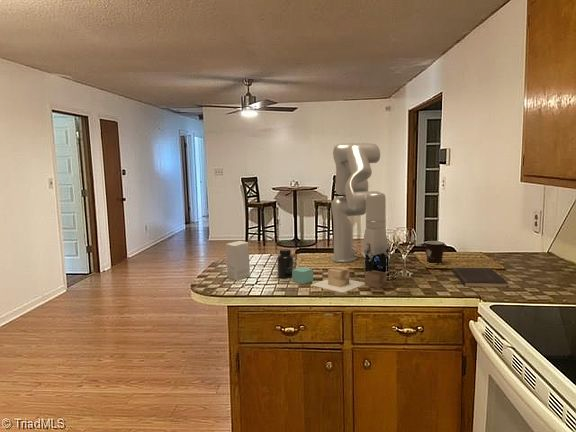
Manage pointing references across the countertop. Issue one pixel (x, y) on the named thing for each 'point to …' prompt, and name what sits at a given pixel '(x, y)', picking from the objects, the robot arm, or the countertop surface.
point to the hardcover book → (479, 277)
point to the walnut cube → (375, 279)
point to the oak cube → (338, 276)
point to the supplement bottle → (285, 264)
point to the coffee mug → (434, 251)
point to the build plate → (342, 289)
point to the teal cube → (302, 275)
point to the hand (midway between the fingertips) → (376, 268)
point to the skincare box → (238, 260)
